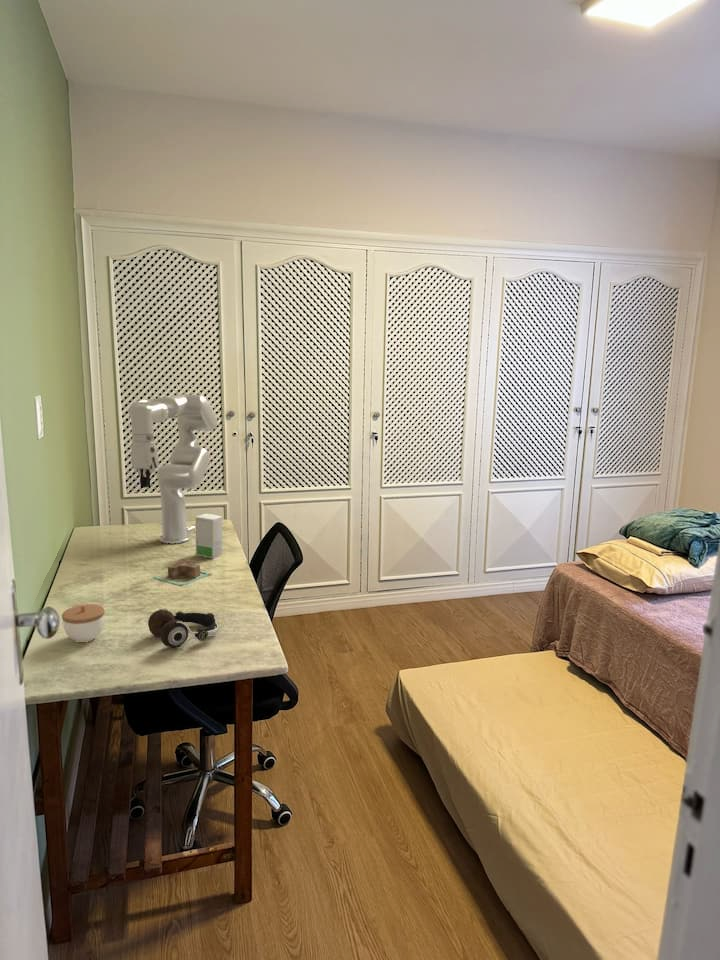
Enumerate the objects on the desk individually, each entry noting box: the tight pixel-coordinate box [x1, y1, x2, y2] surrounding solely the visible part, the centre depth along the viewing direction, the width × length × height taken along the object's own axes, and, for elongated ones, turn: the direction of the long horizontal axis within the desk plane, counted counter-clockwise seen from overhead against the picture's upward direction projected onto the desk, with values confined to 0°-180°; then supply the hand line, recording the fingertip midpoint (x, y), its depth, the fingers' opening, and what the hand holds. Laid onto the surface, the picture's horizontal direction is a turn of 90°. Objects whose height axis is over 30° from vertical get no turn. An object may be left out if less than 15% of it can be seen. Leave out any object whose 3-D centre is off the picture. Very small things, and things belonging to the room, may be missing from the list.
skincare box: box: [195, 513, 223, 559], centre depth 248 cm, size 8×7×16 cm
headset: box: [147, 607, 219, 649], centre depth 182 cm, size 17×8×20 cm
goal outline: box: [153, 570, 211, 587], centre depth 227 cm, size 14×14×1 cm
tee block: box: [167, 558, 201, 580], centre depth 227 cm, size 9×9×4 cm
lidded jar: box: [61, 603, 106, 643], centre depth 178 cm, size 11×11×9 cm
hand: (145, 486), depth 242 cm, fingers closed
